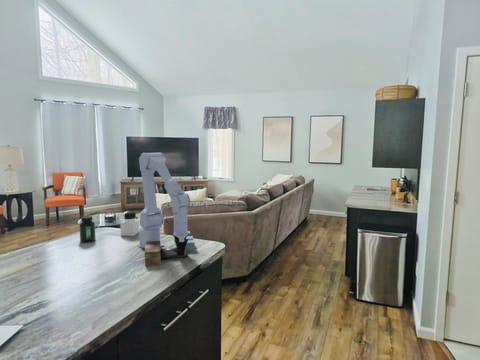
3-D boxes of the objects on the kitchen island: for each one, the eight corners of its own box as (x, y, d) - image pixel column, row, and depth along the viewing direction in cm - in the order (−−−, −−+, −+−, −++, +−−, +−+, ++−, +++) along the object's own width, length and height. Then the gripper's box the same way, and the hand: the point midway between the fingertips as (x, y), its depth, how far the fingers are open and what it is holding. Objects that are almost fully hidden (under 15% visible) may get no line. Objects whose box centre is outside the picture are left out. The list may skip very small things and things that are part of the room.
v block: (176, 252, 142) (176, 243, 142) (175, 245, 152) (175, 237, 151) (194, 251, 144) (194, 242, 143) (192, 244, 154) (192, 236, 153)
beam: (145, 265, 126) (144, 252, 126) (146, 253, 140) (146, 241, 139) (160, 264, 128) (160, 251, 127) (160, 252, 141) (160, 240, 141)
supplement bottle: (91, 242, 154) (90, 218, 152) (77, 242, 153) (76, 218, 152) (97, 238, 160) (96, 215, 159) (84, 238, 160) (83, 215, 159)
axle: (153, 260, 132) (153, 251, 131) (154, 256, 136) (153, 247, 135) (187, 258, 135) (187, 249, 135) (187, 254, 139) (187, 245, 139)
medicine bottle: (139, 232, 172) (138, 210, 171) (133, 236, 165) (133, 213, 164) (126, 231, 173) (126, 210, 171) (120, 235, 166) (119, 213, 164)
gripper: (191, 226, 129) (191, 258, 130) (188, 217, 143) (188, 247, 144) (173, 227, 127) (174, 259, 129) (172, 218, 141) (173, 248, 143)
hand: (180, 253), depth 136 cm, fingers closed on axle, 4 cm apart
